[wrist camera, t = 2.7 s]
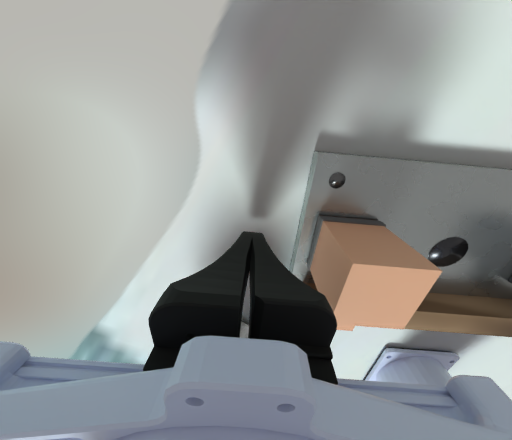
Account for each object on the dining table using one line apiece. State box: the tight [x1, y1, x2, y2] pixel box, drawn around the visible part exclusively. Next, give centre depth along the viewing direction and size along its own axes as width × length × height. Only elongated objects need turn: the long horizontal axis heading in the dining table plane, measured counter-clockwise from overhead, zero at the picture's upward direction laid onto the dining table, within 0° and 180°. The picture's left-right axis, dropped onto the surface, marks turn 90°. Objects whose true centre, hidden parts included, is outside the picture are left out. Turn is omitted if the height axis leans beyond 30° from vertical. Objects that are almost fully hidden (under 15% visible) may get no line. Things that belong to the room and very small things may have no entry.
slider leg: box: [307, 216, 442, 331], centre depth 12 cm, size 7×4×5 cm, turn 175°
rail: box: [305, 283, 512, 337], centre depth 15 cm, size 2×20×2 cm, turn 85°
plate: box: [289, 151, 512, 299], centre depth 14 cm, size 12×22×1 cm, turn 85°
